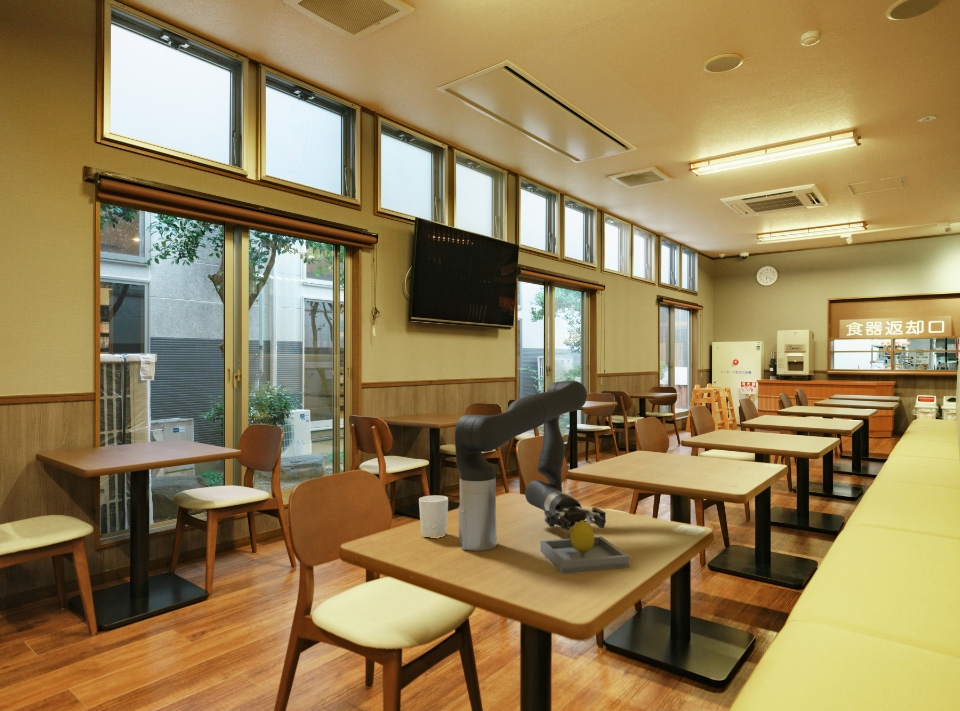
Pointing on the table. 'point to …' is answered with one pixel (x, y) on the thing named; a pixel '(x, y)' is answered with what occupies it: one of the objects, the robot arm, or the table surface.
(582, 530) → the lemon
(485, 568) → the table surface
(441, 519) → the white cup
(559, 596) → the table surface
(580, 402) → the robot arm
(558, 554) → the tray
